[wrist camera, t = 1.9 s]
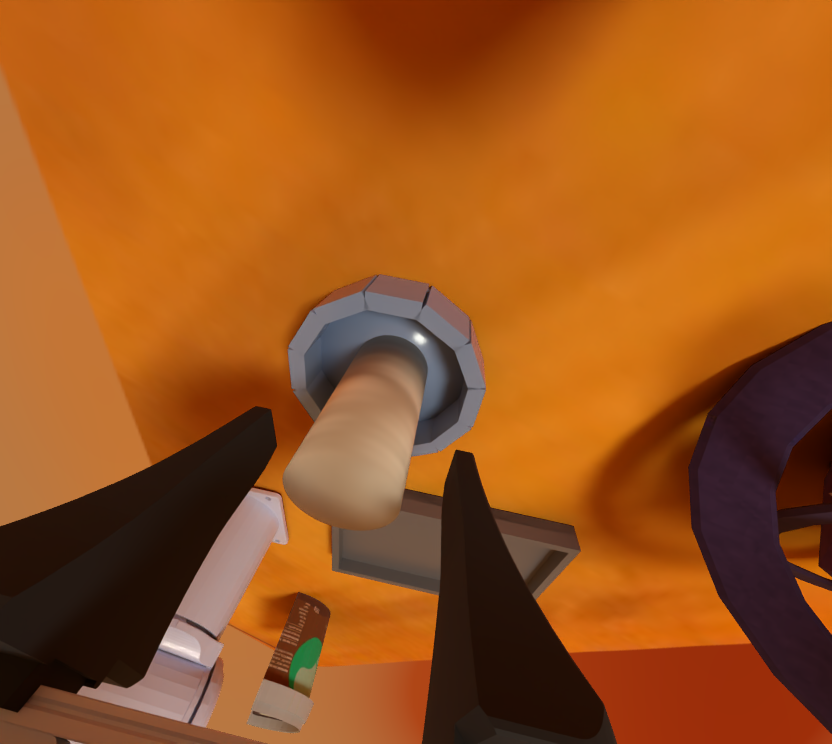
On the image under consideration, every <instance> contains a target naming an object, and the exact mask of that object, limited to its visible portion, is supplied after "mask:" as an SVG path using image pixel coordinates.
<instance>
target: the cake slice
mask: <svg viewBox="0 0 832 744" xmlns="http://www.w3.org/2000/svg"><path fill="white" fill-rule="evenodd" d="M329 618H330V611H329V609H328V608H327V607H326V606H325V605H324V604H323V603H321V602H320V601H318V600H316V599H314V598H312V597H310V596H308V595H306V594H303V593H300V592H299V593H298V595H297V597H296V600H295V602H294V605H293V607H292V610H291V612H290V615H289V617H288V620H287V622H286V625H285V627H284V630H283V632H282V634H281V637H280V639H279V642H278V644H277V647H276V649H275V652H274V654H273V657H272V659H271V662H270V664H269V667H268V669H267V672H266V674H265V677H264V679H263V681H262V684H261V686H260V689H259V691H258V693H257V696H256V699H255V701H254V704H253V706H252V708H251V710H252V712H251V714H250V716H249V719H248V721H247V724H249V725H252V726H256V727H260V728H265V729H269V730H274V731H280V732H287V733H298V732H300V730H301V727H302V724H305V722H306V720H307V718H308V716H309V713H310V711H311V709H312V707H313V704H314V703H313V701H312V700H311V699H309V697H310V693H311V689H312V685H313V681H314V677H315V673H316V669H317V665H318V661H319V657H320V653H321V649H322V646H323V642H324V638H325V634H326V630H327V626H328V622H329Z"/></svg>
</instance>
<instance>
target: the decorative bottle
mask: <svg viewBox="0 0 832 744" xmlns="http://www.w3.org/2000/svg"><path fill="white" fill-rule="evenodd" d="M831 409H832V322H830V323H827V324H824V325H821V326H819V327H818V328H816V329H814V330H812V331H811V332H809V333H807V334H805V335H804V336H802V337H800V338H799V339H797V340H795V341H793V342H792V343H790V344H788V345H787V346H785V347H783V348H781V349H780V350H778V351H776V352H775V353H773V354H771V355H769V356H768V357H766V358H764V359H762V360H761V361H759V362H757V363H756V364H754V365H752V366H751V367H750V368H749V369H748V370H747V371H746V372H745V373H744V374H743V376H742V377H741V378H740V379H739V380H738V381H737V382H736V383H735V384H734V385H733V387H732V388H731V389H730V390H729V391H728V392H727V393H726V394H725V395H724V396H723V398H722V399H721V400H720V401H719V402H718V403H717V404H716V405H715V406H714V407H713V409H712V410H711V411H710V412H709V413H708V415H707V417H706V420H705V423H704V426H703V428H702V431H701V434H700V437H699V440H698V442H697V445H696V448H695V451H694V453H693V456H692V459H691V462H690V464H689V467H688V468H689V487H690V505H691V524H692V530H693V532H694V535H695V537H696V540H697V542H698V545H699V547H700V550H701V552H702V555H703V558H704V560H705V563H706V565H707V568H708V570H709V573H710V575H711V578H712V580H713V583H714V585H715V588H716V590H717V593H718V595H719V597H720V599H721V600H722V602H723V603H724V604H725V606H726V607H727V609H728V610H729V612H730V613H731V614H732V616H733V617H734V619H735V620H736V622H737V623H738V624H739V626H740V627H741V629H742V630H743V632H744V633H745V634H746V636H747V637H748V639H749V640H750V642H751V643H752V645H753V646H754V647H755V649H756V650H757V651H758V653H759V655H760V656H761V657H762V659H763V660H764V662H765V663H766V665H767V666H768V667H769V669H770V670H771V672H772V673H773V675H774V676H775V677H776V678H777V679H778V680H779V681H780V682H781V683H782V684H783V685H784V686H785V687H786V688H787V689H788V690H789V691H790V692H791V693H792V694H793V695H794V696H795V697H796V698H797V699H798V700H799V701H800V702H801V703H802V704H803V705H804V706H805V707H806V708H807V709H808V710H809V711H810V712H811V713H812V714H813V715H814V716H815V717H816V718H817V719H818V720H819V721H820V723H822V724H823V726H824V727H825V728H826V729H827V730H829V732H830V733H831V734H832V635H831V634H830V632H829V631H828V630H827V628H826V627H825V626H824V625H823V623H822V622H821V621H820V619H819V618H818V617H817V616H816V614H815V613H814V612H813V610H812V609H811V608H810V607H809V605H808V604H807V603H806V601H805V599H804V597H803V595H802V593H801V590H800V588H799V586H798V584H797V581H796V579H795V577H796V578H798V579H800V580H803V581H805V582H808V583H811V584H813V585H816V586H819V587H822V588H825V589H827V590H830V591H832V580H830V579H827V578H824V577H822V576H819V575H817V574H815V573H812V572H810V571H808V570H806V569H803V568H801V567H799V566H797V565H794V564H792V563H790V562H788V561H787V559H786V557H785V555H784V553H783V550H782V548H781V546H780V544H779V534H780V533H782V532H786V531H790V530H795V529H799V528H803V527H808V526H812V525H821V536H820V550H819V565H818V566H819V567H821V568H822V569H823V570H824V571H825V572H827V573H828V574H829V575H830V576H831V577H832V464H831V466H830V468H829V471H828V473H827V475H826V477H825V480H824V493H823V504H817V505H809V506H802V507H795V508H787V509H781V510H778V511H777V505H776V490H777V487H778V484H779V482H780V479H781V477H782V474H783V471H784V469H785V466H786V463H787V461H788V458H789V456H790V453H791V450H792V448H793V447H794V446H795V445H796V444H797V443H798V442H799V441H800V440H801V439H802V438H803V437H804V436H805V435H806V434H807V433H808V432H809V431H810V430H811V429H812V428H813V427H814V426H815V425H816V424H817V423H818V422H819V421H820V420H821V419H822V418H823V417H824V416H825V415H826V414H827V413H828V412H829V411H830V410H831Z"/></svg>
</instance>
